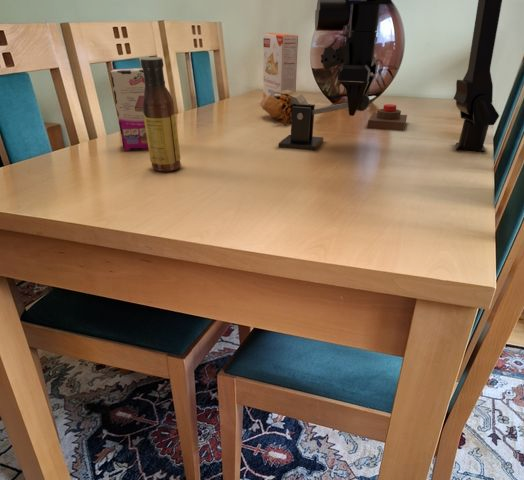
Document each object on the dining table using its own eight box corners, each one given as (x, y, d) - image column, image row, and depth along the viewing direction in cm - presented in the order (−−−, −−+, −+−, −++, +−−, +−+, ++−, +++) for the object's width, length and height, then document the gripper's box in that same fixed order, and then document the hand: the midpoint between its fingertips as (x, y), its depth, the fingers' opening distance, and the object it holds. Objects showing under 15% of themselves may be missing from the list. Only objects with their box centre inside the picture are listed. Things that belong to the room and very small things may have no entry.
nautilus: (301, 131, 130) (249, 131, 133) (312, 112, 146) (266, 113, 149) (301, 100, 125) (247, 100, 128) (312, 84, 141) (265, 85, 144)
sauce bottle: (167, 163, 101) (156, 55, 89) (187, 168, 97) (178, 57, 85) (144, 169, 96) (128, 57, 85) (163, 175, 93) (150, 59, 81)
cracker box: (262, 104, 164) (262, 32, 151) (277, 103, 166) (279, 32, 153) (279, 110, 153) (281, 34, 141) (295, 109, 155) (299, 34, 143)
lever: (371, 108, 107) (369, 90, 105) (369, 110, 104) (367, 93, 102) (300, 122, 113) (298, 105, 111) (296, 124, 111) (294, 108, 109)
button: (394, 113, 131) (396, 106, 130) (382, 112, 132) (383, 105, 131) (396, 111, 134) (397, 104, 133) (383, 110, 134) (384, 103, 133)
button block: (403, 131, 129) (405, 115, 127) (367, 128, 131) (369, 113, 129) (405, 123, 138) (408, 108, 136) (372, 120, 141) (374, 106, 138)
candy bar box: (168, 143, 115) (160, 67, 105) (170, 148, 111) (162, 69, 101) (122, 146, 112) (109, 67, 102) (123, 151, 108) (109, 70, 99)
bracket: (323, 142, 117) (326, 103, 112) (314, 151, 110) (317, 110, 104) (289, 139, 120) (290, 101, 114) (278, 148, 112) (279, 108, 107)
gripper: (334, 29, 107) (327, 104, 116) (316, 32, 92) (311, 117, 102) (382, 30, 104) (372, 107, 113) (372, 33, 90) (361, 121, 99)
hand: (354, 112), depth 107 cm, fingers open, 7 cm apart
